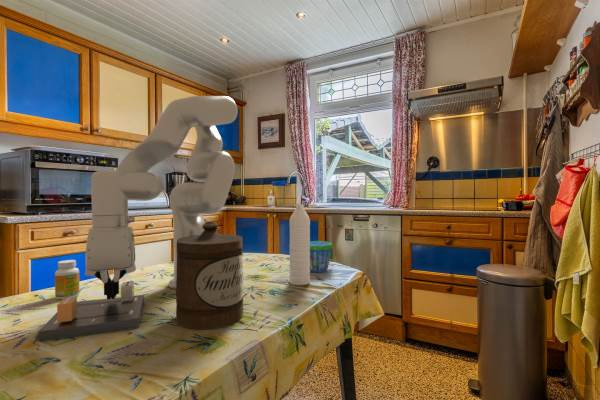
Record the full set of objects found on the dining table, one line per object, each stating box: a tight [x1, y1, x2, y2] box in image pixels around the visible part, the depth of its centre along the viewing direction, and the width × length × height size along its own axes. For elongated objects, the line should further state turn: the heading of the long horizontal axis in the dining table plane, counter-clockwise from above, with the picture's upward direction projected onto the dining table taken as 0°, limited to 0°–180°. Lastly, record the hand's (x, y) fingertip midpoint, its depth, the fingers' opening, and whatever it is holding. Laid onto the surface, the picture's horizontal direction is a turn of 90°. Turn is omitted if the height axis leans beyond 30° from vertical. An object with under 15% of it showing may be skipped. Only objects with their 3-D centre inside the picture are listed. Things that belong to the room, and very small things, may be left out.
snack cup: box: [310, 240, 335, 274], centre depth 117 cm, size 16×10×10 cm
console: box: [38, 294, 145, 343], centre depth 72 cm, size 17×17×2 cm
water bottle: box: [289, 203, 317, 286], centre depth 101 cm, size 9×6×25 cm
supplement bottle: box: [54, 259, 80, 300], centre depth 88 cm, size 5×5×10 cm
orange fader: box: [56, 296, 78, 323], centre depth 67 cm, size 2×4×4 cm, turn 22°
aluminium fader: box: [120, 280, 135, 301], centre depth 79 cm, size 2×4×4 cm, turn 22°
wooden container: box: [175, 221, 244, 330], centre depth 74 cm, size 15×15×22 cm
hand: (111, 297), depth 78 cm, fingers closed
